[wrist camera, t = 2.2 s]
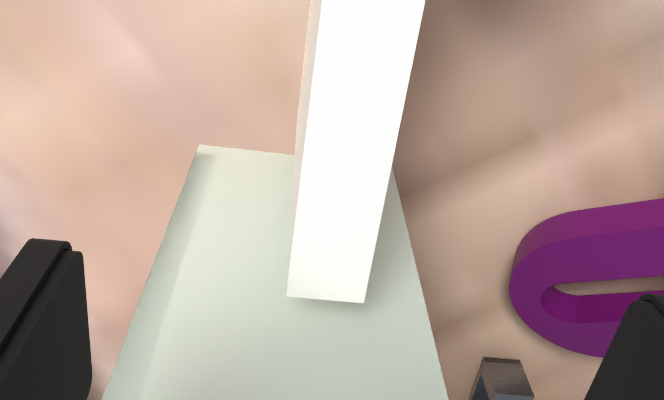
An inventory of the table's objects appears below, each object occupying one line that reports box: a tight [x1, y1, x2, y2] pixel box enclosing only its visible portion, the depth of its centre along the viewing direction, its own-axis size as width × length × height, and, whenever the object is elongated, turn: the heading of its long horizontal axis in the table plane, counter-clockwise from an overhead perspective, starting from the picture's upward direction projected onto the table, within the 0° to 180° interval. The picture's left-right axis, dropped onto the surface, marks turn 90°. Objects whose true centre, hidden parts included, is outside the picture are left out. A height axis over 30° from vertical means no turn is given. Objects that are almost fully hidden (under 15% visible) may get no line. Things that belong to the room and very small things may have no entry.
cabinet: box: [102, 144, 448, 400], centre depth 27 cm, size 10×14×18 cm
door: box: [286, 0, 425, 303], centre depth 22 cm, size 10×3×14 cm, turn 172°
